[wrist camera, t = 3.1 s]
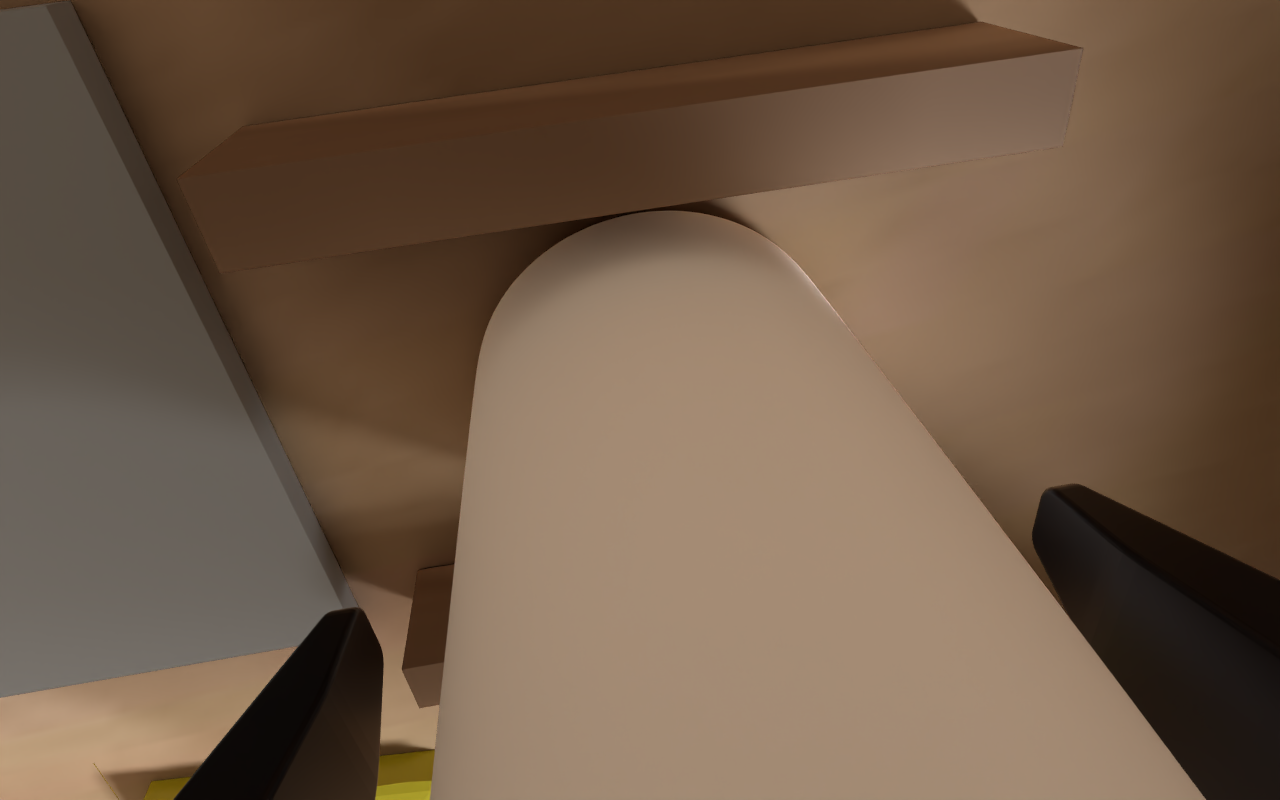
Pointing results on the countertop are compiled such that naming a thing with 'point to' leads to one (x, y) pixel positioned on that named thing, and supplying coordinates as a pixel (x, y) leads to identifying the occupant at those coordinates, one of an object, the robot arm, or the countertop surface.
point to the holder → (619, 162)
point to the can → (742, 560)
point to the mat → (125, 408)
